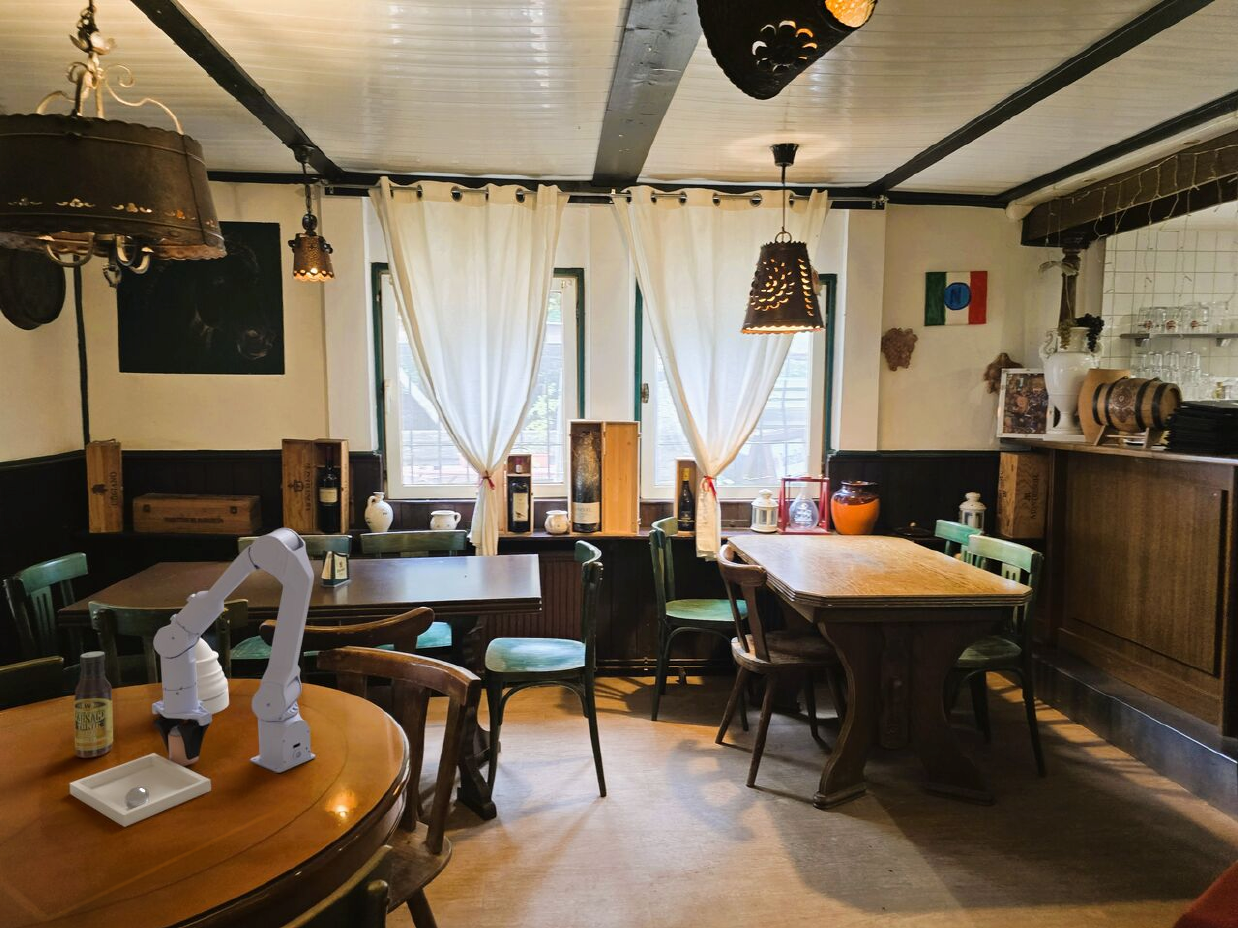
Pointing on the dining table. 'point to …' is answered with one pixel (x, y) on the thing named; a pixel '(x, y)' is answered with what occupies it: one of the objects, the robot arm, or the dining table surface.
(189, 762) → the shaker
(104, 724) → the sauce bottle
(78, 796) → the dish
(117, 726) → the dining table surface
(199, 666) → the honey pot
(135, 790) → the mixing ball
